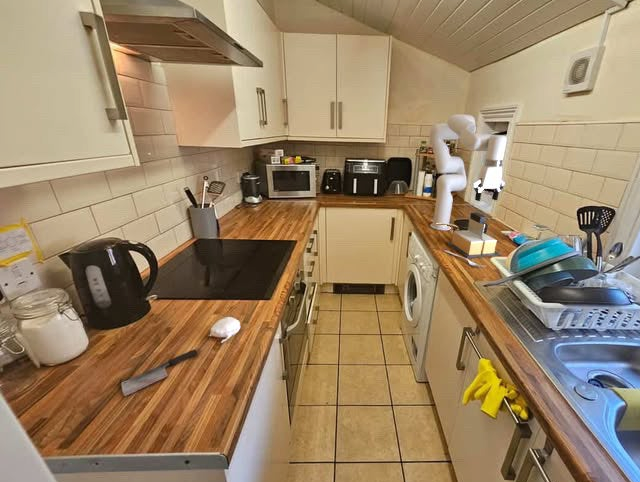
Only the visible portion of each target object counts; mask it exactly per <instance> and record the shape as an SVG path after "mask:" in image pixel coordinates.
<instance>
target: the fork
mask: <svg viewBox="0 0 640 482" xmlns="http://www.w3.org/2000/svg"><path fill="white" fill-rule="evenodd" d="M443 252H445V253H447V254H449V255H453V256H455V257H458V258H461V259H464V260H466V261H467V262H468V264H469V265H470V266H472V267H477V268H478V267H479V268H480V267H481V268H482V267H483V268H484V267H487V265H486V264H485V265H484V264H479V263H476V262H473V261H471V260H470V259H469V258H466V257H465V256H462V255H458V254H456V253H454V252H452V251H449V250H447V249H443Z"/></svg>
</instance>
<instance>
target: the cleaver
mask: <svg viewBox="0 0 640 482" xmlns="http://www.w3.org/2000/svg"><path fill="white" fill-rule="evenodd" d="M197 354H198V351H197V349H196V348H195V349H191V350H189V351H187V352H185V353H183V354H181V355H178V356H176V357H172V358H171V359H169V360H167V362H165V363H163V364H161V365H159V366H155V367H154V368H151V369H149V370H147V371H144V372H143V373H141V374H138V375H136V376H133V377H132V378H129V379H127V380H124V381H122V382H121V385H120V386H121V391H122V394H123V396H124V397H127V396H129V395H131V394H133V393H136V392H138V391H139V390H142V389H144V388H146V387H148V386H150V385H152V384H154V383H157V382H158V381H161V380H162V379H165V378H168V373H167V371H166V367H168V366H170V367H171V366H174V365H176V364H179V363H181V362H183V361H184V360H187V359H189V358H191V357H193V356H195V355H197Z"/></svg>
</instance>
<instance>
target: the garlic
mask: <svg viewBox="0 0 640 482" xmlns="http://www.w3.org/2000/svg"><path fill="white" fill-rule="evenodd" d="M240 329H241V322H240V321H239V320H238V319H236V318H235V317H232V316H226V317H223V318H221V319H219V320H217V321H216V322H215V323H213V325H212V326H211V327H210V331H209V332H210V334H208V337H209V338H210V337H215V338H222V339H221V340H220V344H222V343H224V342H226V341H228V340H229V339H230V338H231V337H232V336H235V335H236V334H238V332H239V331H240Z"/></svg>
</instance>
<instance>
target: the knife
mask: <svg viewBox="0 0 640 482" xmlns="http://www.w3.org/2000/svg"><path fill="white" fill-rule="evenodd" d="M486 220H487V216H485V215H483V214H480V213H479V212H470V217H469V220H468V227H467V230H468V231H470V232H471V233H473V234H475V235H477V236H478V237H480V238H482V237H483V233H485V227H486V224H485V223H486Z"/></svg>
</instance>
